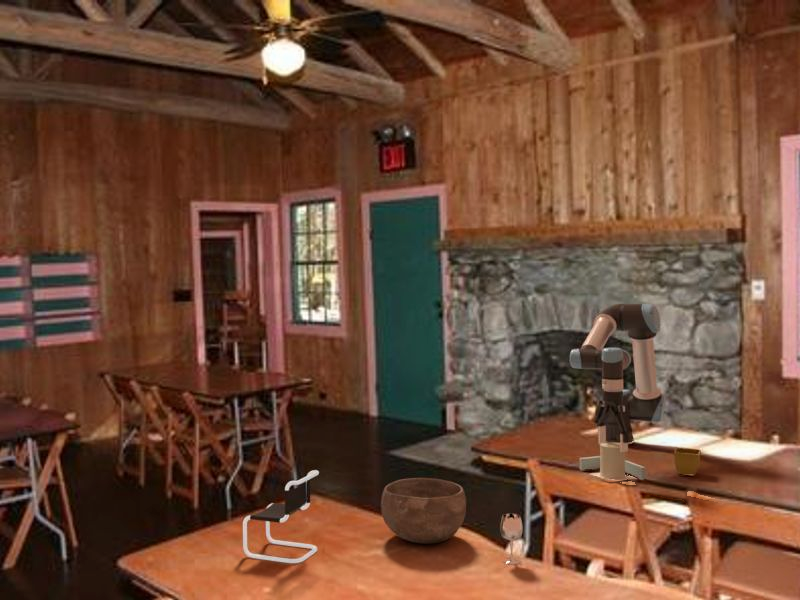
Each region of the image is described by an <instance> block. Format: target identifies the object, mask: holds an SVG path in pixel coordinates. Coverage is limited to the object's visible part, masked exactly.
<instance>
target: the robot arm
mask: <svg viewBox="0 0 800 600" xmlns="http://www.w3.org/2000/svg"><path fill="white" fill-rule="evenodd" d="M660 330H661V317H660V313H659V310H658V308H657V306H655V305H654V304H649V303H647V304H646V303H617V304H616V303H615V304H613V305H610V306H608V307H606V308H605V309H603V310H601V311H600V312H599V313H598V314H597V315H596V316H595V318H594V320H593V326H592V328H591V329H590V331H589V334H587V336H586V339H585V340H584V342H583V343H582V346H581V347H580V348H573V349H571V351H570V353H569V364H570V366H571V368H573V369H580V370H598V371H599V370H601V377H602V378H601V388H602V390H601V400H599V401H598V408H597V410H596V414H595V417H594V421H593V422H594V424H596V425H597V434H598V436H597V437H598V444H599V445H600V444H601V443H605V442H606V441H608V442H618V443H620V452H625V453H626V452H628V451H629V445H628V442H632V441H634V442H635V438H634V434H633V428H632V424H631V421H636V422H650V423H659V422H661V421H662V420H663V418H664V414H665V410H666V403H667V399H666V398H667V397H666V396H665V395H664V394H662V392H661V391H662V390H661V389H660V388H658V385H657V371H656V360H655V359H656V358H655V357H656V356H655V345H654V339H655V337H657V335H658V332H660ZM615 332H627V337H628V338H629V339H630V340H631V342H632V343H631V344H632V355H633V368H634V378H635V379H634V380H635V389H634V390H633V391H632V393H631V391H630V389H624V370H626V369H628V367H629V366H630V364H631V362H632V357H631V355H630V353H629V352H628V351H627V350H625V349H622V348H620V347H605V345H606V343H607V341H608V339H609V338H610V336H611V335H613V334H614V333H615Z"/></svg>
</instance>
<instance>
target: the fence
mask: <svg viewBox="0 0 800 600" xmlns="http://www.w3.org/2000/svg"><path fill="white" fill-rule="evenodd" d="M578 460H579V463H578V464H579V465H578V466H579V468H578V469H580V470H579V471H581V472H583V471H586V470H585V469H588V468H595V467H600V455H597V456H596V455H595V456H589V457H587V456H586V457H579V459H578ZM646 468H647V467H646V466H644V465H639V464H638V463H635V462H632V461H628V460H626V459H625V471H626V472H628V473H631V474H632V475H635V476H636V477H638V478H639V479H638V478H637V479H638V480H641V481H644V479H647V478H646V477H647V475H646V474H647V473H646V472H647V471H646V470H647V469H646Z"/></svg>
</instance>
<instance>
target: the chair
mask: <svg viewBox="0 0 800 600" xmlns="http://www.w3.org/2000/svg"><path fill="white" fill-rule="evenodd" d="M319 473H320V471H319V470H317V469H315V470H314V469H313V470H311V471H309V472H308V473H307V474H306V476H304V477H302V478H300V479H299V480H290V481H288V482H287V483H286V484H285V487H284V503H278V502H271V503H270V504H268V505H267V506H266V508H265V509H264V510H262V511H259V512H258V513H255V514H250V515H247V516H245V517H244V519H243V521H242V547H243V552H244V553H245V555H246V556H247V557H248V558H253V559H257V560H265V561H266V560H267V561H272V562H278V563H279V562H281V563H287V564H299V563H301V562H304V561H305V560H307V559H308V558H310V557H311V556H312V555H313V554H315V553H316V552H317V551H318V547H317V546H316V545H314V544H310V543H303V542H302V543H301V542H293V541H286V540H280V539H279V540H278V539H274V538H273V537H272V536H271V527H270V526H271V523H278V524H279V523H280V524H282V523H285V522H286V521H288V519H289V516H291V515H293V514H294V513H296V512H297V511H304V510H307V509H308V508H309V507H310V505H311V479H313V478H315V477H317V476H318V475H319ZM296 485H297V486H298V485H299V486H298V487H295V488H292V489H290V488H291V486H296ZM250 520H254V521H262V522H265V534H266V535H265V536H266V538H267V540H268V541H269V543H271V544H273V545H281V546H288V547H289V546H290V547H297V548H304V549H311V550H310V551H309V552H307V553H306V554H304V555H303V556H301V557H298V558H287V557H279V556H273V555H271V556H270V555H265V554H257V553H252V552H250V551H249V549H248V521H250Z"/></svg>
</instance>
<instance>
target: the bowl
mask: <svg viewBox="0 0 800 600" xmlns="http://www.w3.org/2000/svg"><path fill="white" fill-rule="evenodd" d="M380 511H381V516H382V519H383V521H384V523H385V525H386V526H387V527H388V528H389V530H390V531H391V532H392V533H394V535H396V536H398V537H399V538H401V539H403V540H405V541H408V542H412V543H416V544H417V543H418V544H436V543H441V542H444V541H447V540H449V539H450V538H452V536H454V535H456V533H457V532H458V531H459V530H460V528H461V527H462V524H463V523H464V520H465V517H466V511H467V496H466V493H465V490H464V488H463V486H462V485H460V484H458V483H455V482H453V481H449V480H444V479H440V478H431V477H428V478H427V477H413V478H412V477H411V478H410V477H409V478H404V479H403V478H402V479H397V480H395V481H392V482H391V483H388V484H387V485H386V486H385V487H384V488H383V491H382V495H381V501H380Z"/></svg>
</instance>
